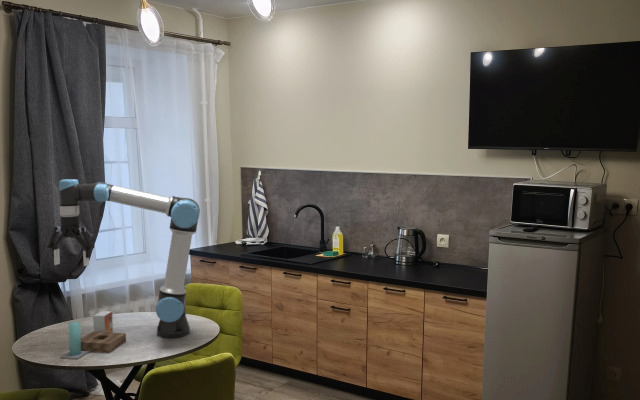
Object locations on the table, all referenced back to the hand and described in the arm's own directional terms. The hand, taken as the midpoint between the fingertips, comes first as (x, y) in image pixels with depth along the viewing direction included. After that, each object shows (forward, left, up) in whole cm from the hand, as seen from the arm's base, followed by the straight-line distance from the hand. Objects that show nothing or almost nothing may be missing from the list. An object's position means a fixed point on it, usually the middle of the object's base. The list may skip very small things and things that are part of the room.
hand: (71, 264), depth 240 cm
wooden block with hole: (-10, -4, -37) cm, 38 cm away
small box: (-3, -18, -37) cm, 41 cm away
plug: (-5, +8, -36) cm, 37 cm away
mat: (-5, +8, -37) cm, 38 cm away
